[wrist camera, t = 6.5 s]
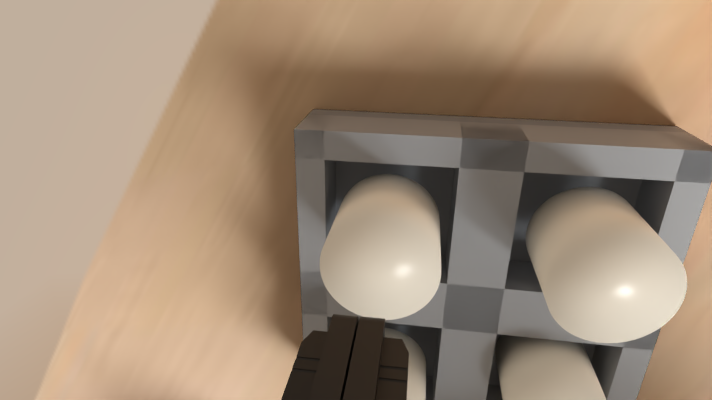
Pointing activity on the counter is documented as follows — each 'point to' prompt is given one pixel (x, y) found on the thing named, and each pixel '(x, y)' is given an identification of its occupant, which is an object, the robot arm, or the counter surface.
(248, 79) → the counter surface
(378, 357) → the robot arm
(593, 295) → the button front right
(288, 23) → the counter surface
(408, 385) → the button back left
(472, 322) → the button board
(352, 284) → the button front left
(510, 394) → the button back right
